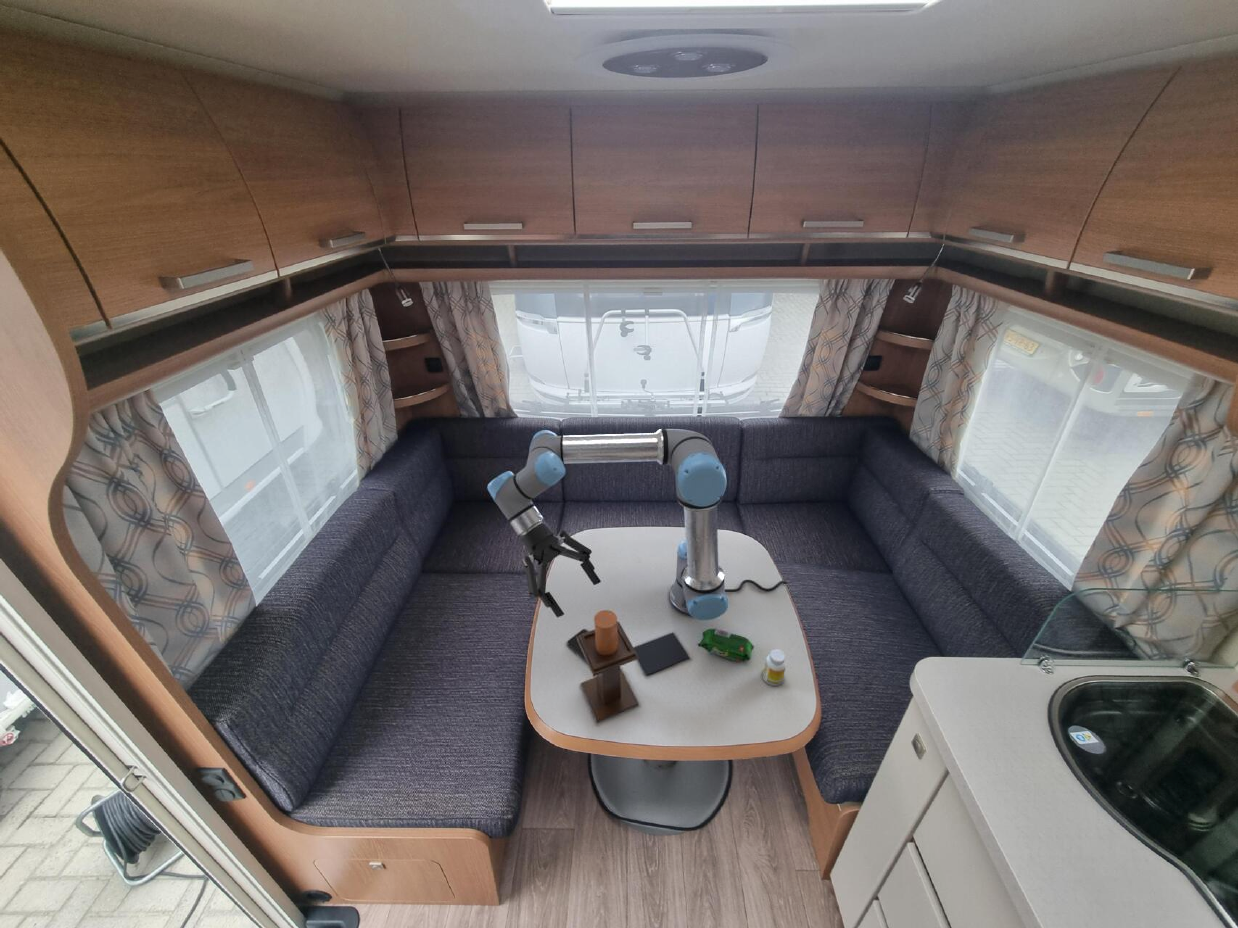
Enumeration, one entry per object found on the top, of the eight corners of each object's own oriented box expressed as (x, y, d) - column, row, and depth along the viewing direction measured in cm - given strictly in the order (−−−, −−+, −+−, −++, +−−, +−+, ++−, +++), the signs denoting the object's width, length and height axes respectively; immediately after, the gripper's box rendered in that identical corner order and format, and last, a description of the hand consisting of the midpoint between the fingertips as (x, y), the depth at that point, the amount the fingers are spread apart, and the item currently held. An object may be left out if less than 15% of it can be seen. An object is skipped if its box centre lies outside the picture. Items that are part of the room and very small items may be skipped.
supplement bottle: (758, 673, 138) (763, 651, 133) (773, 666, 140) (778, 644, 135) (771, 689, 134) (776, 666, 129) (786, 681, 136) (792, 658, 131)
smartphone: (565, 644, 148) (601, 676, 138) (565, 642, 148) (601, 674, 138) (584, 629, 153) (621, 659, 143) (584, 627, 152) (621, 657, 143)
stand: (620, 669, 140) (618, 618, 129) (638, 705, 131) (638, 653, 120) (581, 685, 136) (576, 634, 125) (596, 723, 127) (593, 671, 116)
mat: (672, 633, 151) (673, 632, 151) (689, 658, 143) (689, 657, 143) (631, 649, 146) (631, 647, 146) (646, 676, 138) (646, 674, 138)
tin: (612, 634, 126) (611, 607, 121) (621, 650, 122) (620, 623, 117) (592, 641, 125) (590, 614, 119) (600, 658, 120) (599, 631, 115)
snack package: (701, 634, 150) (702, 622, 148) (753, 648, 145) (755, 637, 143) (696, 652, 145) (697, 640, 142) (750, 668, 140) (752, 656, 137)
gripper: (560, 510, 133) (604, 574, 133) (487, 559, 117) (536, 632, 116) (573, 500, 128) (619, 567, 127) (498, 551, 111) (550, 628, 111)
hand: (579, 599), depth 122 cm, fingers open, 13 cm apart
